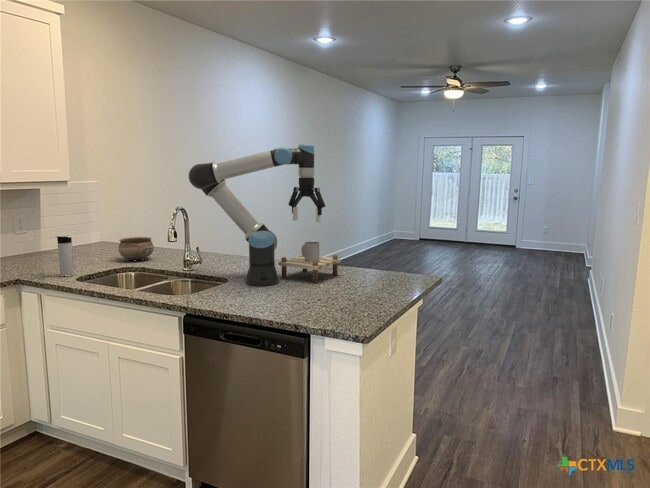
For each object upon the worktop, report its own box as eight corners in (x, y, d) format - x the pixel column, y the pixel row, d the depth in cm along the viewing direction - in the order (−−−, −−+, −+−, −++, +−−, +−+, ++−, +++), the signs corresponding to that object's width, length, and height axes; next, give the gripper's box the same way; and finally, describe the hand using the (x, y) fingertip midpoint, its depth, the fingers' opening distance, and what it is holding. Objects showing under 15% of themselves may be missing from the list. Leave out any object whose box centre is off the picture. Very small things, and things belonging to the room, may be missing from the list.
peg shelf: (316, 283, 230) (316, 262, 228) (278, 278, 241) (278, 257, 240) (340, 274, 248) (340, 255, 247) (303, 270, 260) (303, 251, 258)
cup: (313, 262, 238) (313, 244, 236) (297, 260, 244) (297, 242, 242) (322, 260, 243) (322, 242, 242) (306, 258, 249) (306, 240, 248)
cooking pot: (108, 260, 286) (107, 239, 284) (136, 255, 302) (134, 235, 300) (138, 265, 274) (136, 243, 272) (164, 259, 290) (163, 238, 288)
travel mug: (57, 276, 246) (53, 236, 243) (69, 273, 252) (65, 234, 249) (65, 277, 243) (61, 237, 240) (77, 275, 249) (74, 235, 246)
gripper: (332, 177, 235) (332, 222, 238) (290, 176, 248) (290, 218, 252) (323, 177, 229) (323, 223, 232) (281, 176, 242) (281, 220, 246)
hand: (306, 221), depth 242 cm, fingers open, 13 cm apart
